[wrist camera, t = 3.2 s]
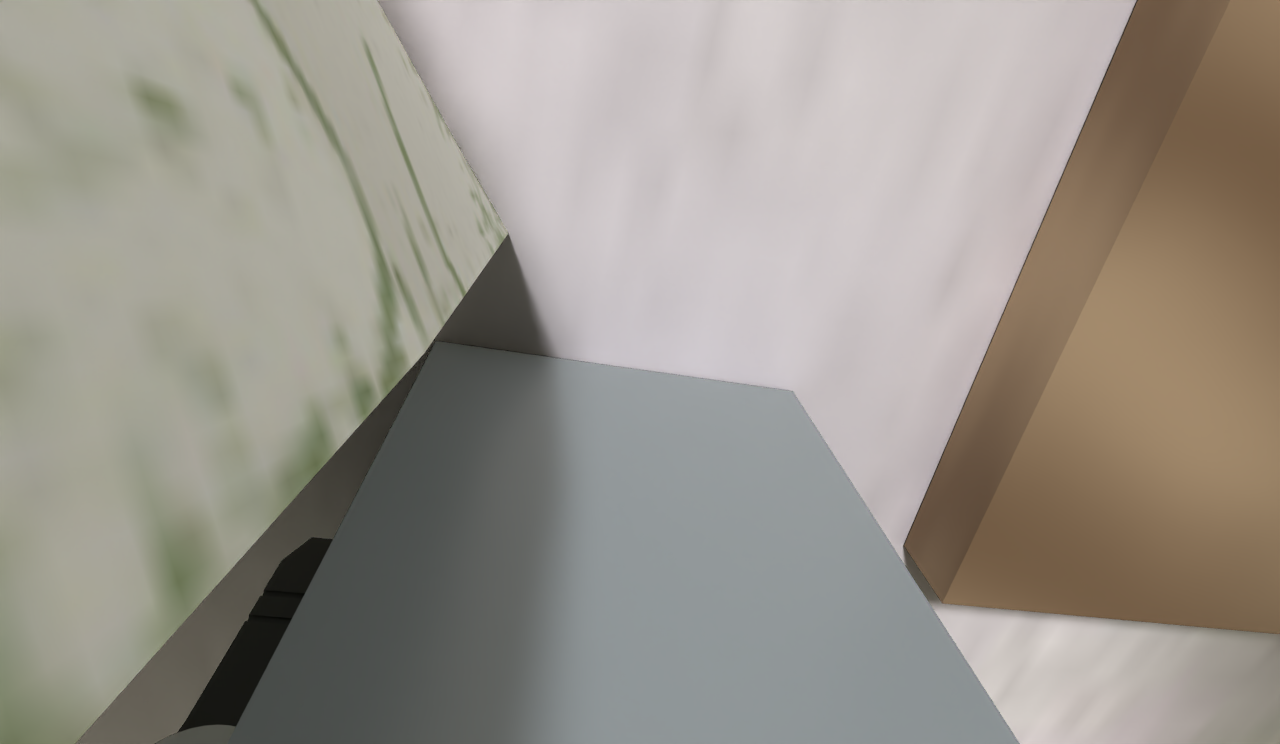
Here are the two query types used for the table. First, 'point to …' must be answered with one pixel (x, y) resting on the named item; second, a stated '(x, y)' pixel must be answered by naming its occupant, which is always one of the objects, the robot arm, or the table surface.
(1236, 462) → the flat brown square board
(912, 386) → the table surface
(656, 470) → the slate grey cube
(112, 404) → the grocery bag
